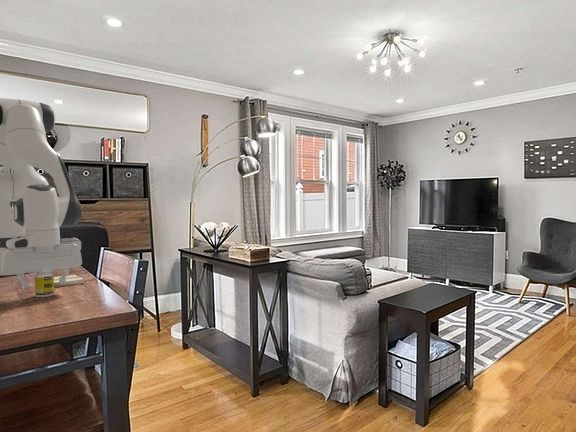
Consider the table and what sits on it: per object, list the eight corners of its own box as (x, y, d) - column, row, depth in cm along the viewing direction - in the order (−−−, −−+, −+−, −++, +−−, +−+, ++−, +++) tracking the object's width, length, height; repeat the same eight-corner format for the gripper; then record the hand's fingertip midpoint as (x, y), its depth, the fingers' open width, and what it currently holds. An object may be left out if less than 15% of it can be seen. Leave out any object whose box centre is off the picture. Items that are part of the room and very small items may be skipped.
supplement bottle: (45, 297, 114) (44, 269, 114) (31, 297, 115) (30, 268, 115) (57, 293, 119) (56, 266, 119) (44, 293, 120) (43, 265, 120)
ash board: (38, 283, 135) (38, 278, 135) (73, 278, 143) (73, 274, 142) (46, 288, 126) (46, 284, 126) (83, 283, 134) (83, 278, 134)
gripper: (78, 236, 126) (79, 279, 127) (-1, 241, 112) (1, 289, 113) (84, 237, 121) (85, 282, 122) (2, 243, 107) (4, 293, 108)
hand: (44, 285), depth 117 cm, fingers open, 8 cm apart
